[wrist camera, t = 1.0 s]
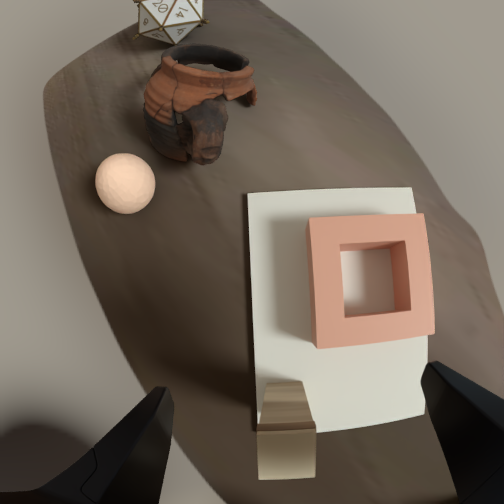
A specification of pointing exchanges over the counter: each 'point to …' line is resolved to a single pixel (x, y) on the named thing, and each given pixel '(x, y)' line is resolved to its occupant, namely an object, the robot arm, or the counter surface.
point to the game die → (169, 19)
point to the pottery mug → (194, 100)
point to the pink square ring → (403, 270)
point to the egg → (125, 183)
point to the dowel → (286, 433)
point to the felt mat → (355, 302)
